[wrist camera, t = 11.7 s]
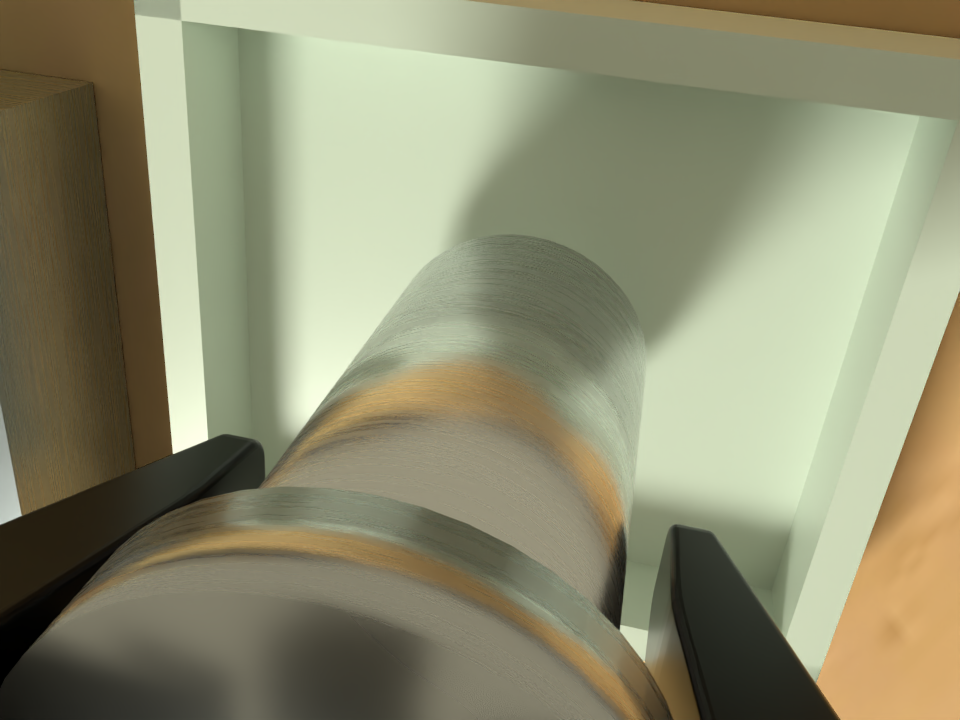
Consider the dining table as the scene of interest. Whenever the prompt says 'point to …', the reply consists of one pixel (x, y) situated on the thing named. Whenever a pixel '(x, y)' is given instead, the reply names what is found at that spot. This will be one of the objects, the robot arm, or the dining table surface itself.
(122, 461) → the metallic box with opening
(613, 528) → the pin
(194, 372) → the tray
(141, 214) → the dining table surface
